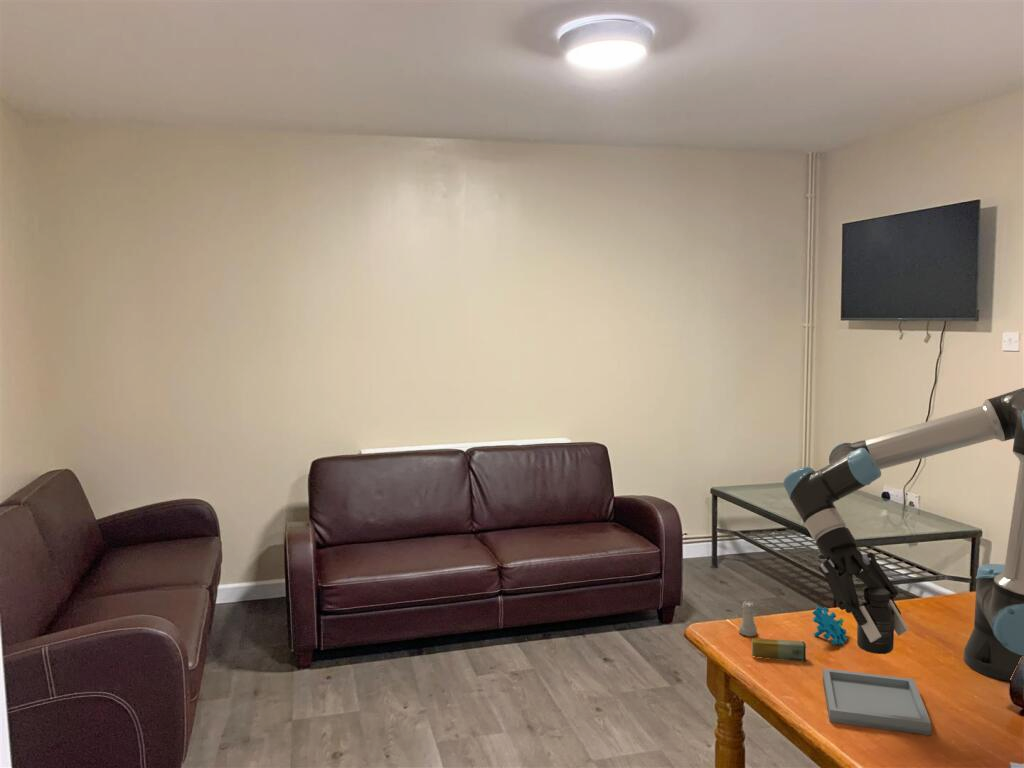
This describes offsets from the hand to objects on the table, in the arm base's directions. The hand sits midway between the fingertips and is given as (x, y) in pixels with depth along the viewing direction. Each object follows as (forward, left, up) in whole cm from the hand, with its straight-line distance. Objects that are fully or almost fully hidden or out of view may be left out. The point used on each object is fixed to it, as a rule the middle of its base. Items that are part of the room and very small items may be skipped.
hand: (889, 635), depth 156 cm
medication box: (+20, -20, -17) cm, 33 cm away
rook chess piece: (+27, -32, -17) cm, 45 cm away
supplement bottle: (+2, -3, -4) cm, 6 cm away
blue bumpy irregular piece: (+8, -33, -17) cm, 38 cm away
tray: (+2, -3, -16) cm, 17 cm away
